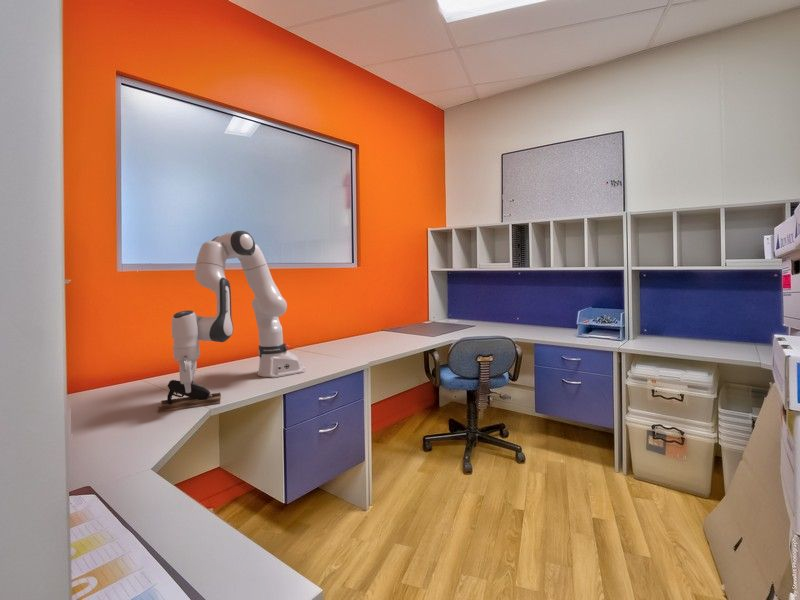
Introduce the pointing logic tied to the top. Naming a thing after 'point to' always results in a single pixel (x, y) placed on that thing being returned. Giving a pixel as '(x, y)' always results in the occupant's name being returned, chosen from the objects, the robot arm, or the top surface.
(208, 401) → the walnut stand
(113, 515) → the top surface
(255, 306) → the robot arm
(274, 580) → the top surface
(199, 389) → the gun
